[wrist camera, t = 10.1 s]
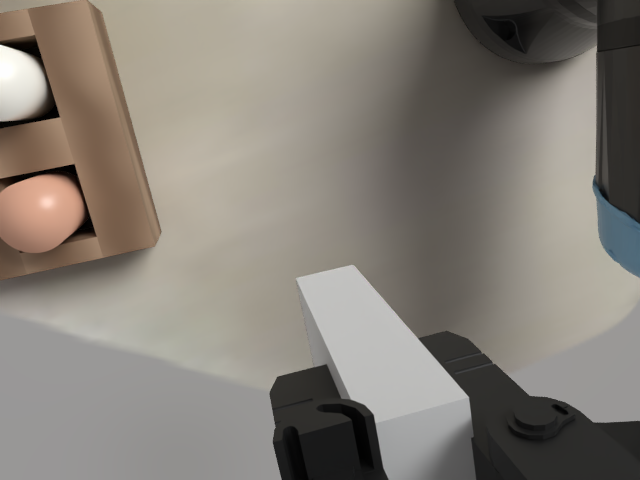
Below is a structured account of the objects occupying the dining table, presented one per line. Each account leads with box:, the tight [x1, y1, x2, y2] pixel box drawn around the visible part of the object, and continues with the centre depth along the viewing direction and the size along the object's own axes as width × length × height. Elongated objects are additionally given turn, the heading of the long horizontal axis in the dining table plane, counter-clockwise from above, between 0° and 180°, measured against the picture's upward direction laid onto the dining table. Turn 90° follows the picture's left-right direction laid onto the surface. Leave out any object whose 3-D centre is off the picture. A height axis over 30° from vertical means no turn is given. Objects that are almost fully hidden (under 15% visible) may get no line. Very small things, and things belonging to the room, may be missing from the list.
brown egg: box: [0, 171, 90, 253], centre depth 35 cm, size 4×4×6 cm
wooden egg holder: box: [0, 0, 161, 280], centre depth 36 cm, size 12×16×4 cm
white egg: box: [0, 45, 56, 121], centre depth 33 cm, size 4×4×6 cm
